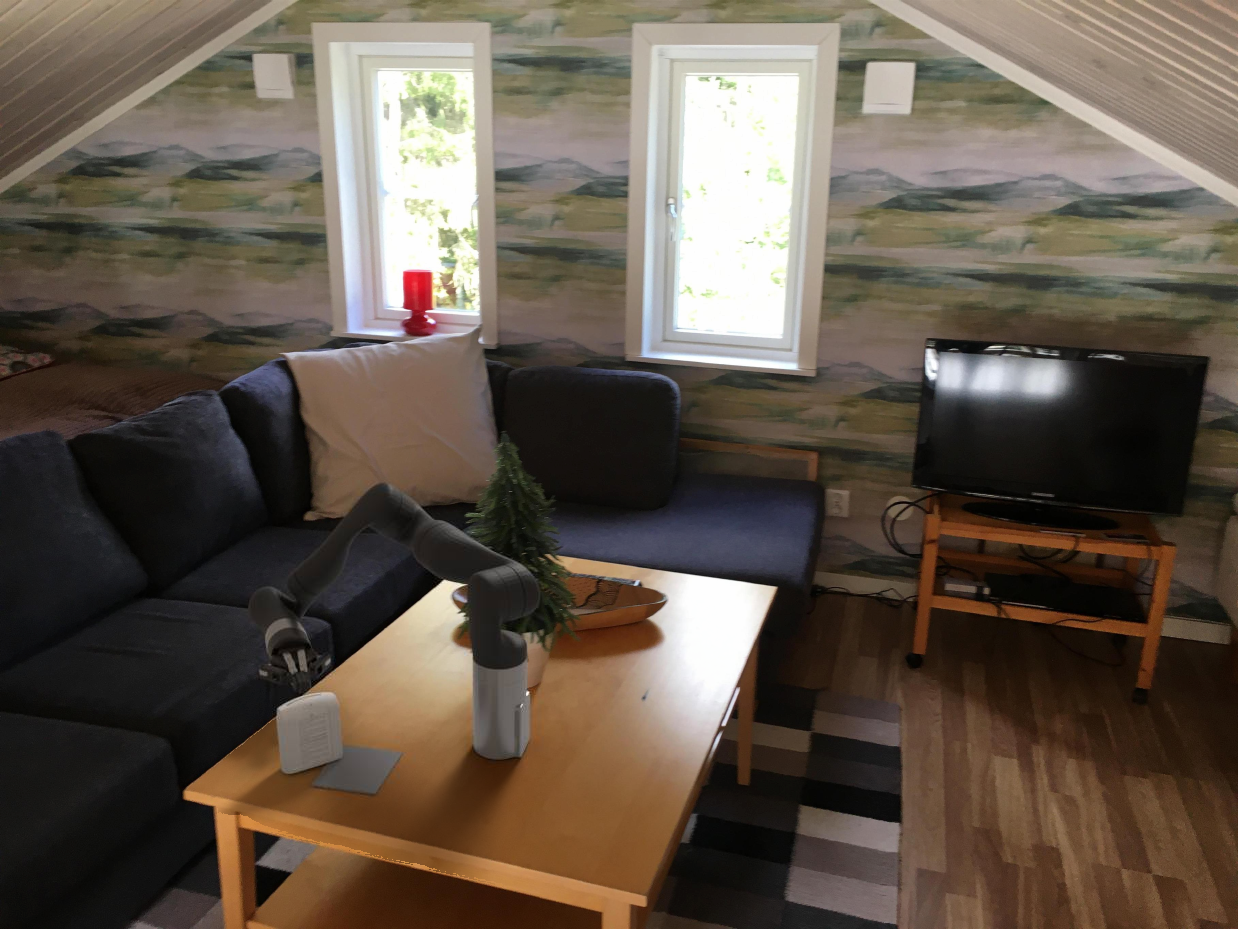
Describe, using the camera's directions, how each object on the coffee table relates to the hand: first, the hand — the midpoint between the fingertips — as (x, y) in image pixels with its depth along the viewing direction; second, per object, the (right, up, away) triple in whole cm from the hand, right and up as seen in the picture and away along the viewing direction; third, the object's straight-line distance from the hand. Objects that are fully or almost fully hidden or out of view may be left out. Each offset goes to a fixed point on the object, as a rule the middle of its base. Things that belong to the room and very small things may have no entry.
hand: (303, 687), depth 177 cm
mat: (+11, -12, -6) cm, 18 cm away
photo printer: (+3, -12, -5) cm, 13 cm away
